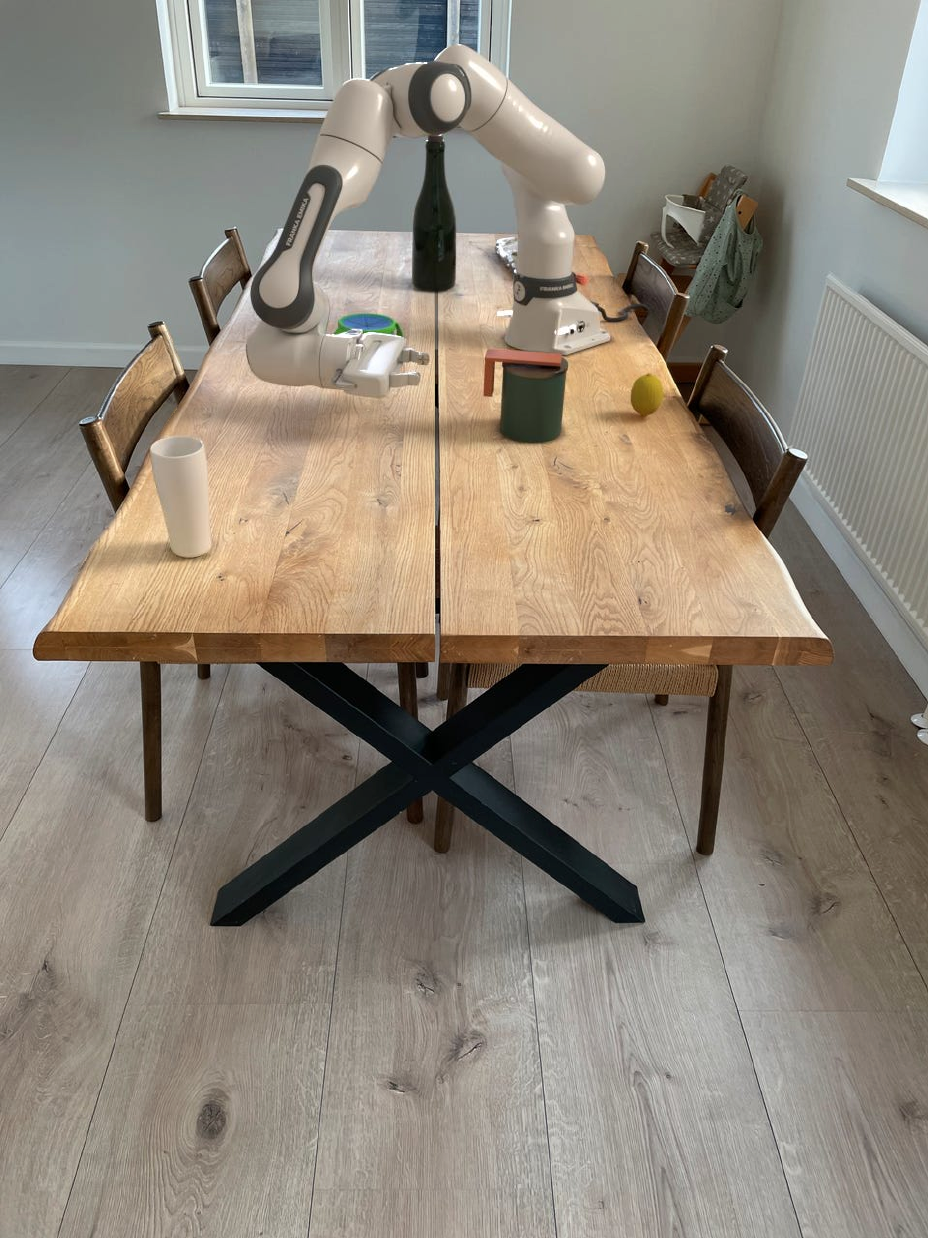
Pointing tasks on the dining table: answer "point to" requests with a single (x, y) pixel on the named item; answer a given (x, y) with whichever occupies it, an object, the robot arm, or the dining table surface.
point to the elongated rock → (508, 252)
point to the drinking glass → (183, 493)
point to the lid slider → (514, 357)
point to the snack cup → (369, 324)
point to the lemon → (646, 395)
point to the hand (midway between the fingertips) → (424, 368)
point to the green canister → (532, 401)
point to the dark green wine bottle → (434, 225)
